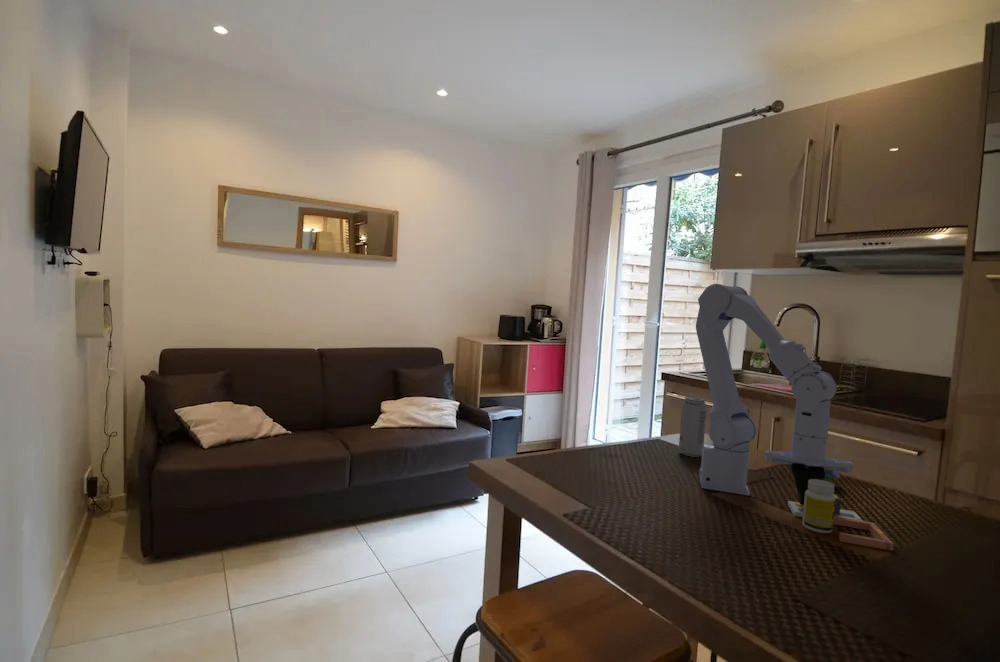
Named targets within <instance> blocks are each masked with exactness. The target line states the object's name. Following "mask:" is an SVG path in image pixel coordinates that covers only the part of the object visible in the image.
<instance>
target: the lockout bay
mask: <svg viewBox="0 0 1000 662" xmlns="http://www.w3.org/2000/svg"><path fill="white" fill-rule="evenodd" d="M833 525H835V526H842V527H847V528H852V529H853V528H854V529H859V530H864V531H869V533H871V535H872V536H873V537H869V536H863V535H858V534H851V533H847V532H841V531H840V532H839V534H838V540H839V542H840V543H841V542H842V543H847V544H853V545H859V546H864V547H869V548H876V549H880V550H887V551H892V552H893V551H894V543H893V541H892V540H890V538H889V537H888V536H887V535H886V534H885V533H884V532H883V530H881V529H880V527H879V526H877V525H876V523H875V522H871V521H866V520H863V521H860V520H854V519H848V518H842V517H836V516H834V521H833Z"/></svg>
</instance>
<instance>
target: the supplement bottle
mask: <svg viewBox="0 0 1000 662" xmlns="http://www.w3.org/2000/svg"><path fill="white" fill-rule="evenodd" d="M808 488H809V489H808V490H806V491H805V497H804V507H803V517H801V518H802V519H801V524H802V526H803V527H804V528H805V529H807V530H809V531H812V532H816V533H819V534H830V533H833V530H834V524H833V521H834V511H835V502H836V498H835V496H834V495H833V494H835V484H834V483H833V482H831V483H830V482H828V481H824V480H819V479H810V480H809V481H808Z"/></svg>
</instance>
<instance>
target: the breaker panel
mask: <svg viewBox="0 0 1000 662" xmlns="http://www.w3.org/2000/svg"><path fill="white" fill-rule="evenodd" d="M787 505H788V507H789V508H788V509H790V511H791V512H792V515H793V516H794V517H799V518H800V517H801V518H802V517H803V507H804V505H801V504H800V503H799V501H798V502H797V501H792V500H788V501H787ZM834 516H836V517H842V518H848V519H854V520H860V521H864V520H863V519H862V518H861V517H860V515H858V513H856V512H855V510H853V511H852V510H848V509H842V508H840V514H834Z"/></svg>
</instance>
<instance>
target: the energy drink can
mask: <svg viewBox="0 0 1000 662" xmlns="http://www.w3.org/2000/svg"><path fill="white" fill-rule="evenodd" d="M705 401H706V400H705V398H702V397H694V396H686V397H685V398H684V400H683V402H682V406H681V417H680V418H681V419H680V428H679V429H680V430H679V439H678V441H679V442H678V451H679V452H680V453H682V454H684V455H687V456H693V457H698V456H700V457H701V456H702V449H703V444H705V443H704V442H705V432H706V431H705V430H706V423H707V422H706V421H707V420H706V419H707V411H708V410H707V409H708V408H707V407H708V406H707V404H706V402H705ZM687 456H686V457H687ZM693 457H692V458H693ZM698 458H699V457H698Z"/></svg>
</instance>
